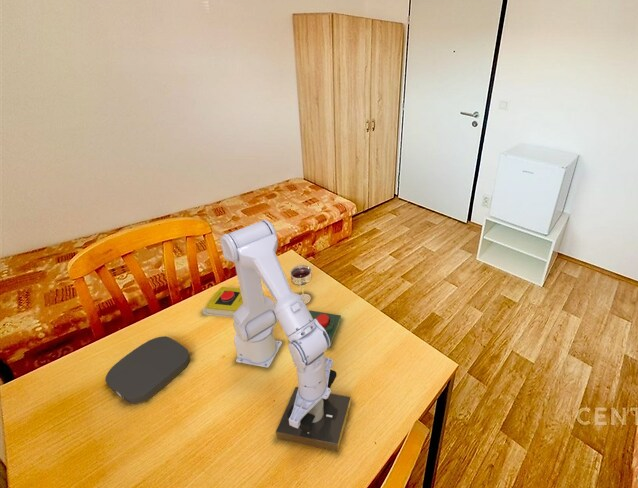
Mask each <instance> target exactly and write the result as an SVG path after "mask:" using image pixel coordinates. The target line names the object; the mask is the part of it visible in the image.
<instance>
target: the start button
mask: <svg viewBox="0 0 638 488" xmlns="http://www.w3.org/2000/svg"><path fill="white" fill-rule="evenodd" d="M316 320H317V321H318V322H319V324H320V325H321V326H322V327H323V328H324V327H326V326H327V325H328V324H329V317H328V315H326V314H321V315H319V316H318V317H317V319H316Z"/></svg>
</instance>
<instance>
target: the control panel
mask: <svg viewBox="0 0 638 488" xmlns="http://www.w3.org/2000/svg"><path fill="white" fill-rule="evenodd" d="M298 387H299V386H294V388H293V392H292V394H291V396H290V399H289V400H288V403H287V405H286V408H285V410H284V412H283V414H282V417H281V419H280V421H279V423H278V426H277V428H276V430H275V434H276V439H277V440H280V441H285V442H290V443H295V444H300V445H304V446H309V447H314V448H319V449H322V450H323V449H324V450H329V451H333V452H339V448H340V446H341V442H342V437H343V434H344V431H345V427H346V423H347V421H348V420H347V419H348V416H349V412H350V409H351V402H352V401H351V400H352V399H351V396H347V395H341V394H337V393H332V392H331V393H330V395H329V397H328V398H327V399H323V404H324V414H323V417H322V418H321V419H320V420H319V421H318V422H315V423H312V424H311V429H310V431H309V433H307V432H305V431H303V430H301V429H300V427H299V428H298V429H297V428H295V427H293V426H290V425H289V419H288V418H287V413H288V411H289V410H290V408H291V406H292V405H294V403H295V399H296V395H297V391H298Z"/></svg>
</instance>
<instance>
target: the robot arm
mask: <svg viewBox="0 0 638 488" xmlns="http://www.w3.org/2000/svg"><path fill="white" fill-rule="evenodd" d="M219 238H220V239H219V241H220V245H221V246H220V247H221V250H222V254H223V258H224V259H225V261H229V262H231V263H234V267H235V272H236V276H237V280H238V286H239V288H240V291H241V295H242V300H243V304H242V305H241V306H240V307H239V308H238V309H237V311H236V312H235V313H234V314H233V315H234V317H232V318H233V324H232V325H233V329H234V331H235V336H234V340H233V341H234V348H235V352H236V356H237V357H236V360H235V362H236V363H239V364H245V365H250V366H256V367H260V368H261V367H262V368H270V367H271V365H272V363H273V361H274V359H275V357H276V355H277V354H278V351H279V350H280V348H281V346H282V344H283V341H281V340H278V339H277V340H276V338H275V332H274V329H276V324H277V323H278V322H279V325H280V326H281V328H282V330H283V332H284V334H285V336H286V338H287V340H288V341H289V343H288V344H287V349H288V351H289V353H290V356H291V358H292V359H291V360H292V363H293V365H294V366H295V368H296V375H297V377H296V378H297V384H298V386H297V387H298V391H297V395H296V399H295V403H294V405H292V406H291V408H290V410H289V411H288V413H287V418H288V419H289V425H290V426H293V427H295V428H297V429H298V428H299V427H300V429H301V430H303V431H305V432H307V433H309V431H310V429H311V424H312V422H313V420H314V418H315V416H314V415H312V414H310V413H308V412H309V411H310V410H311V409H312V408H313V407H314V406H315V405H316V404H317V403H318V402H319V401H320V400H321V399H327V398H328V397H329V395H330V393H331V394H332V389H331V388H332V386H333V383H334V382H335V380H336V378H337V377H338V376H337V372H336V371H335V370H334V369H332V368H333V366H334V359H333V358H329V357H327V356H326V355H325V354H326V353H325V352H326V351H327V350H328V349H329V347H330V339H329V337H328V334H327V332H326V331H325V329H324V328H323V327H322V326H321V325H320V324H319V322H318V321H317V320H316V319H314V320H313V318H312V316H311V314H310V312H309V307H307V305H306V304H305V303H304V301H303V299H302V297H301V295H302V294H299V293H296V292H293V290H292V289H291V286H290V284H289V281H288V279H287V276H286V275H285V272H284V270H283V267H282V265H281V262H280V260H279V258H278V255H277V254H276V253H277V251H278V246H279V242H278V234H277V231H276V228H275V227H274V225H273V223H272V222H270V221H269V220H267V219H262V220H259V221H258V222H255V223H253V224H249V225H248V226H245V227H242V228H240V229H237V230H234V231H231V232H229V233H224V234H222V235H221V236H220V237H219ZM262 283H263V284H264V286H265V287H266V289H267V290H268V292H269V294H270V296H271V297H272V298H273V299H271V298H270V297H269V296H268V295H264V291H263V284H262ZM273 300H274V301H275V302H274V301H273Z"/></svg>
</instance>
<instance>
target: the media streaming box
mask: <svg viewBox="0 0 638 488" xmlns="http://www.w3.org/2000/svg"><path fill="white" fill-rule="evenodd" d="M190 361H191V356H190V353H189V350H188V349H187V348H186V347H185V346H184V345H183V344H181V343H180V342H178V341H177V340H175V339H173V338H171V337H169V336H158V337H154V338H152V339H149V340H147V341H145V342H144V343H142V344H141V345H139V346H138V347H136V348H135V349H133V350H132V351H130V352H129V353H126V355H125V356H123V357H122V358H121V359H119V361H117V362H116V363H115V364H114V365H112V366H111V368H109V370H108V371H107V373H106V376H105V382H106V385H107V386H108V388H109V389H110V390H111V391H112V392H113V393H115V394H116V395H117V396H118V397H119V398H120V399H122V400H123V401H124V402H126V403H128V404H130V405H137V404H142V403H143V402H146V401H147V400H149V399H151V398H152V397H154V396H155V395H156V394H157V393H158V392H159V391H161V390H162V389H163V388H164V387H165V386H167V385H168V384H170V383H171V382H172V380H174V379H175V378H176V377H177V376H178V375H180V374H181V373H182V372H183V371H184V370H185V369H186V368H187V367H188V365H189V363H190Z"/></svg>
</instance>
